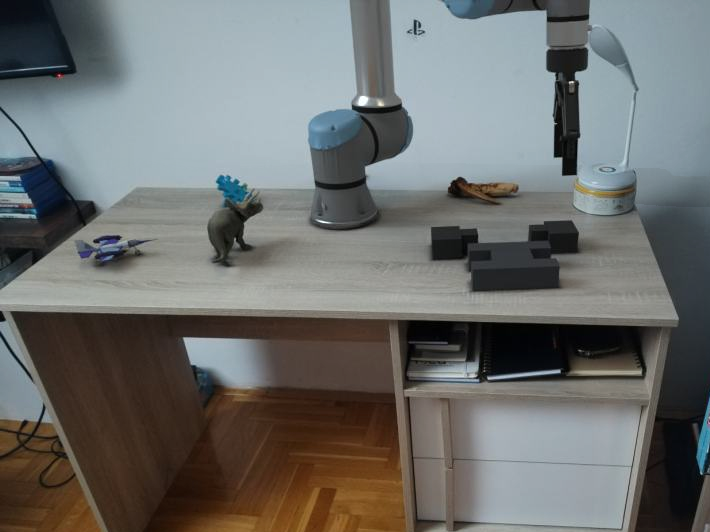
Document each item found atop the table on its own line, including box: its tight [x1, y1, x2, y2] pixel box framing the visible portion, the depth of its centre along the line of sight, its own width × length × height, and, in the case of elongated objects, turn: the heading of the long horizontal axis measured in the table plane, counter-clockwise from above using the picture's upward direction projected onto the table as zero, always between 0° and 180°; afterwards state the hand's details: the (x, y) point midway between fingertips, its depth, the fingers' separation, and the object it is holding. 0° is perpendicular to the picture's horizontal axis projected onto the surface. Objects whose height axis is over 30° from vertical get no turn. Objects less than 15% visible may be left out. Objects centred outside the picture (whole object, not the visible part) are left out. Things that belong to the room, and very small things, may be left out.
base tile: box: [467, 240, 561, 292], centre depth 124 cm, size 12×16×4 cm
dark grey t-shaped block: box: [430, 225, 479, 261], centre depth 134 cm, size 7×10×4 cm
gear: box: [214, 174, 255, 207], centre depth 159 cm, size 11×6×10 cm
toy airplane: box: [74, 234, 158, 266], centre depth 133 cm, size 13×14×4 cm
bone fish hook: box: [447, 176, 520, 205], centre depth 162 cm, size 9×5×18 cm
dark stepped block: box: [527, 219, 580, 254], centre depth 136 cm, size 7×10×4 cm
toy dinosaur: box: [206, 188, 264, 267], centre depth 131 cm, size 22×8×11 cm, turn 168°
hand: (564, 165), depth 127 cm, fingers open, 13 cm apart
